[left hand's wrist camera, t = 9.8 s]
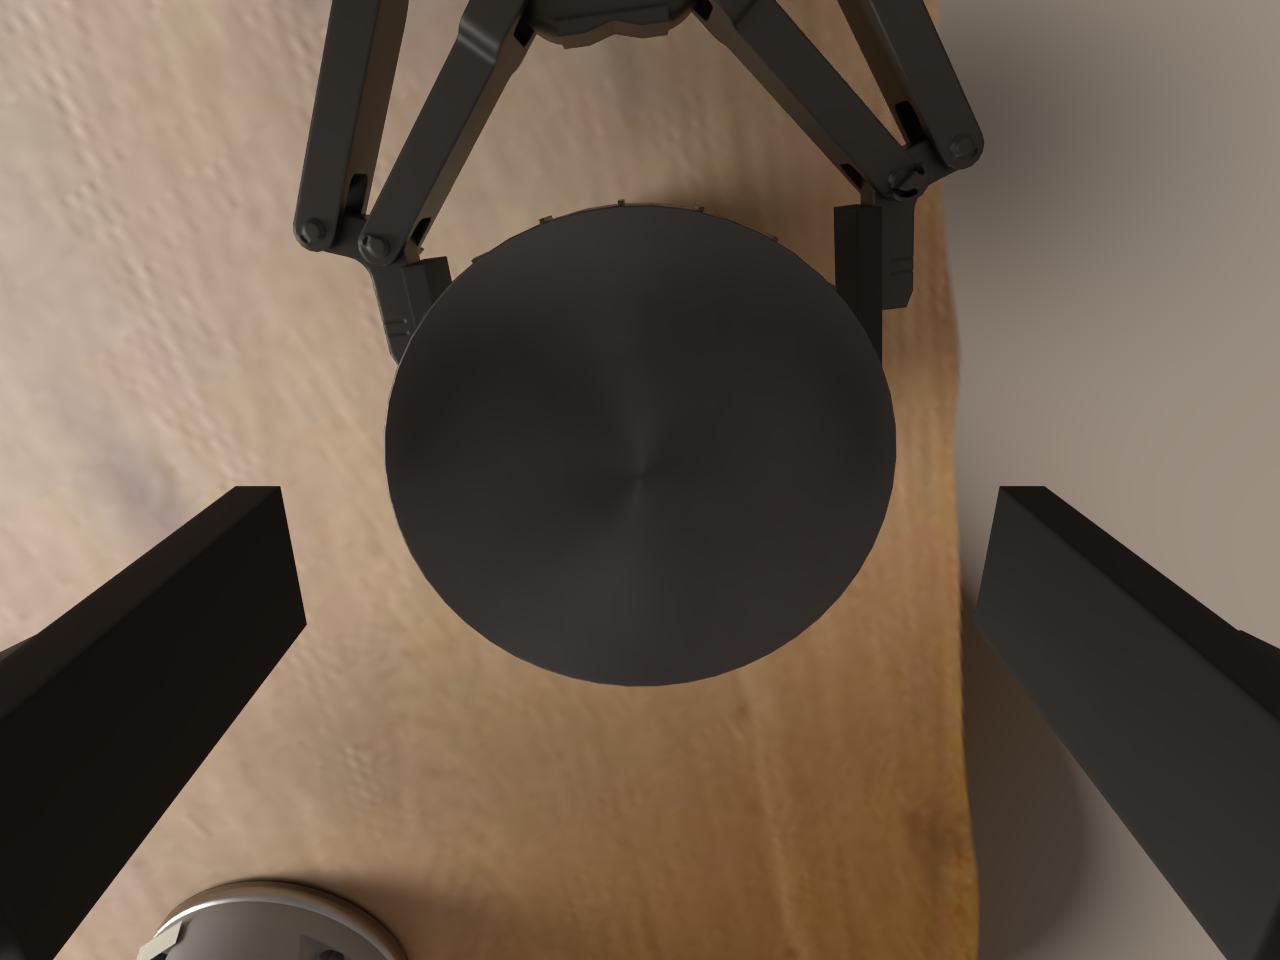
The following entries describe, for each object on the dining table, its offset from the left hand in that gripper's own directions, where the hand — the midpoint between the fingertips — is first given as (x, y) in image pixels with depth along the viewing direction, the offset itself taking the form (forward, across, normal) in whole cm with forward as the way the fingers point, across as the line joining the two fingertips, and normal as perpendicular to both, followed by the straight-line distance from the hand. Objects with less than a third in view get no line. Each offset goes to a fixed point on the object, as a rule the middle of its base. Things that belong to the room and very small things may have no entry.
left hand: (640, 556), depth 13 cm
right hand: (+13, +1, -2) cm, 13 cm away
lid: (+4, 0, 0) cm, 4 cm away
